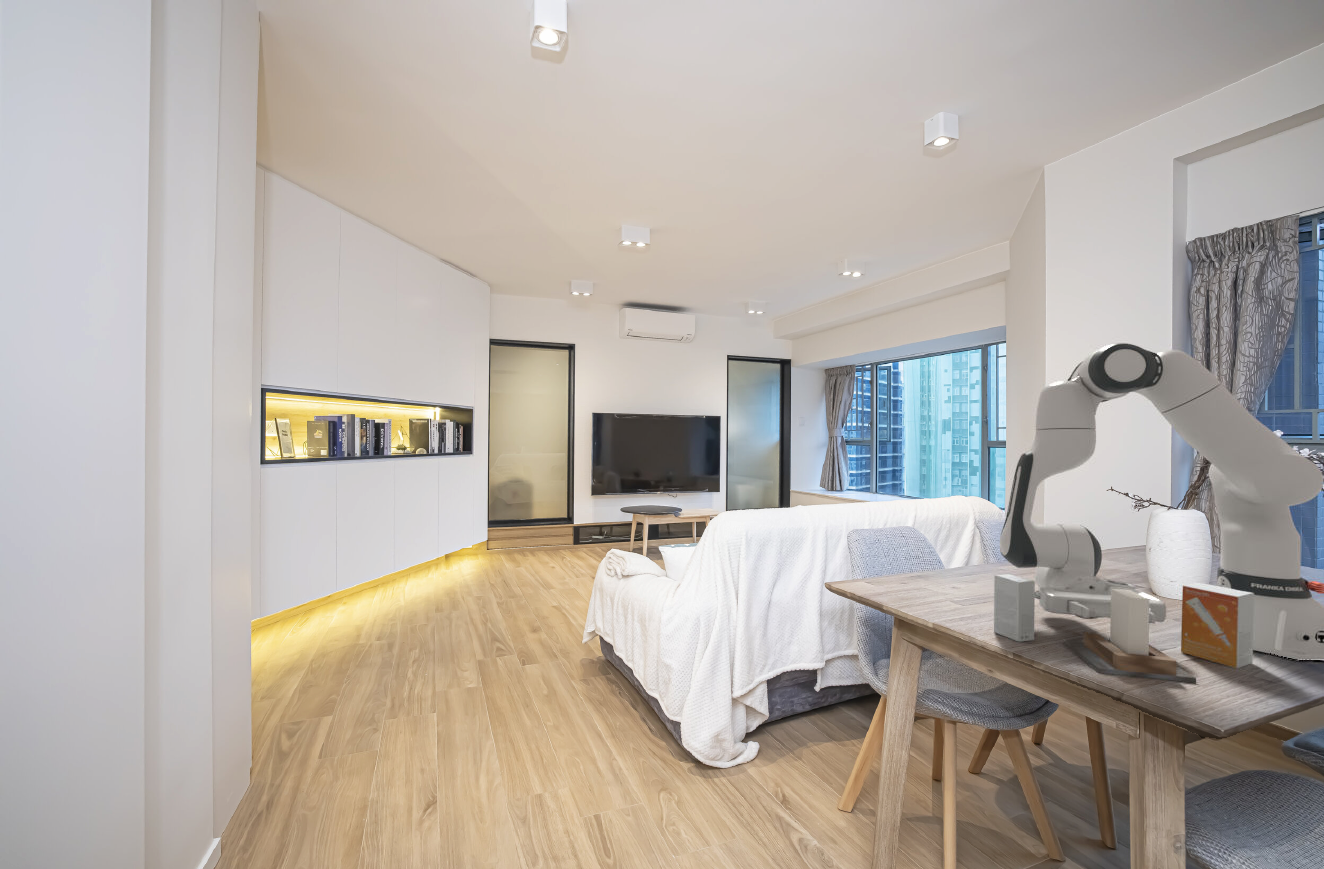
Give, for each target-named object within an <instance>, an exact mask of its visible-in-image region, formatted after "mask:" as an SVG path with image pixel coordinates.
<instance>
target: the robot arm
mask: <svg viewBox="0 0 1324 869" xmlns="http://www.w3.org/2000/svg"><path fill="white" fill-rule="evenodd" d="M1131 392H1132V393H1137V394H1140V395H1141V396H1143V397H1144V398H1146V399H1147V400H1148V401H1150V402H1151V403H1152V404H1153V405H1154V407H1155V408H1156V410H1157V411H1158V412H1159V413H1160V414H1161V415H1162V416H1163V418H1164V419H1165V420H1166V421H1167V422H1168V424H1170V426H1171V427H1172V428H1173V430H1175V432H1177V434H1178V435H1179V436H1180V437H1181V438H1182V440H1183V441H1184V442H1185V443H1186V444H1187V445H1189V446H1190V447H1191V448H1193V449H1194V450H1195V451H1196V452H1198V453H1199V454H1200V455H1202V456H1203V457H1204V458H1205V459H1206V461H1207V462H1209V463H1210V466H1209V468H1208V477H1209V480H1210V482H1211V484H1212V485H1211V486H1212V489H1213V490H1212V491H1213V496H1214V502H1215V508H1216V512H1217V517H1218V523H1219V530H1220V564H1219V565H1220V566H1219V567H1217V574H1216V586H1220V587H1225V588H1230V589H1235V590H1239V591H1245V592H1251V593H1254V618H1253V651H1257V652H1261V653H1266V654H1270V653H1271V655H1274V654H1275V655H1274V656H1277V655H1278V657H1281V656H1283V657H1282V658H1284V657H1287V658H1286V659H1288V658H1294V659H1302V660H1303V659H1305V660H1307V659H1309V660H1311V659H1324V605H1323V604H1322V603H1320V602H1319V601H1317V600H1316V599H1314V598H1313V595H1312V593H1311V592H1315V593H1318V594H1323V595H1324V583H1323V582H1318V581H1316V580H1312V581H1308V580H1307V579H1305V578H1303V577H1301V564H1302V562H1301V561H1302V560H1301V559H1302V558H1301V557H1302V556H1301V555H1302V553H1301V552H1302V550H1301V549H1302V544H1301V543H1302V537H1301V535H1300V534H1299V532H1298V530H1297V528H1296V526H1295V523H1294V521H1293V517H1292V512H1291V510H1290V507H1293V506H1298V505H1301V504H1305V503H1307V502H1310V501H1311V500H1313V499H1314V498H1315V497H1317V496H1318V495H1319V493H1320V492H1322V489H1323V487H1324V474H1323V473H1322V471H1321V469H1320V468H1319V467H1318V466H1317V464H1315V463H1314V462H1313V461H1311V460H1310V459H1308V458H1307V457H1305V456H1304V455H1302V454H1300V453H1299V452H1298V451H1297V450H1296V449H1294V448H1293V447H1292V446H1291V445H1290V444H1288V443H1287V442H1286V441H1285V440H1284V439H1282V438H1281V437H1280V436H1279V435H1277V434H1276V433H1275V432H1273V431H1272V430H1271V429H1270V428H1269V427H1267V426H1266V425H1264V424H1263V423H1262V422H1261V421H1259V420H1258V419H1257V418H1256V417H1255V416H1253V415H1252V414H1251V413H1250V412H1249V411H1248V410H1247V409H1246V408H1245V407H1244V405H1242V404H1241V403H1240V402H1239V400H1238V399H1237V398H1236V397H1235V396H1234V395H1233V394H1232V392H1230V390H1228V388H1227V387H1226V386H1225V385H1224V384H1223V383H1222V382H1221V381H1220V380H1219V379H1218V378H1217V377H1216V376H1215V375H1214V374H1213V373H1212V372H1211V371H1210V370H1209V369H1207V367H1205V366H1204V365H1203V364H1202V363H1200V362H1199V361H1198V360H1196V359H1195V358H1193V357H1192V356H1191V355H1189V354H1188V353H1187V352H1185V351H1182V350H1177V349H1169V350H1164V351H1160V352H1157V353H1156V352H1153V351H1150V350H1148V349H1144V348H1142V347H1141V346H1139V345H1135V344H1133V343H1125V342H1124V343H1123V342H1120V343H1119V342H1118V343H1113V344H1112V343H1111V344H1108V345H1105V346H1103V347H1101V348H1099V349H1098V350H1095V351H1094V352H1092V353H1090V354H1089V355H1088V356H1086V357H1085V358H1084V359H1083V361H1081V362H1080V363H1078V365H1077V366H1076V367H1075V368H1074V370H1073V371H1072V372H1071V375H1070V376H1069V378H1068V379H1067V380H1061V381H1056V382H1053V383H1050V384H1047V385H1046V386H1045V387H1044V388H1042V390H1041V392H1040V394H1039V398H1038V403H1037V406H1036V407H1037V409H1036V415H1035V416H1036V418H1035V436H1034V441H1033V442H1032V445H1031V447H1030V449H1029V450H1028V451H1026V452H1024V453H1022V454H1021V455H1020V457H1019V459H1018V461H1017V464H1016V467H1015V472H1014V477H1013V481H1012V486H1011V491H1010V496H1009V500H1008V506H1007V510H1006V516H1005V520H1004V523H1003V527H1002V529H1001V534H1000V538H999V550H1000V554H1001V555H1002V557H1003V558H1004V559H1005V560H1006V561H1007V562H1008V563H1009V564H1011V565H1012V566H1014V567H1016V568H1017V569H1025V568H1026V569H1030V568H1032V569H1033V568H1036V569H1035V572H1034V581H1035V584H1036V586H1037V587H1038V589H1039V590H1035V599H1037V600H1038V603H1039V605H1040V607H1041V608H1042V609H1043V610H1044V611H1045V612H1047V613H1051V614H1059V615H1069V616H1070V615H1072V616H1074V617H1075V616H1076V617H1078V618H1079V619H1083V620H1084V619H1085V620H1094V619H1095V620H1096V619H1099V618H1101V619H1103V618H1108V619H1111V589H1123V590H1131V591H1133V592H1135V593H1137V594H1140V595H1142V596H1144V597H1146V598H1148V599H1149V624H1155V623H1156V622H1158V623H1163V622H1165V621H1166V619H1167V605H1166V603H1165V602H1164V601H1163V600H1161V599H1159V598H1158V597H1155V596H1153V595H1152V594H1149V593H1147V592H1144V591H1143V590H1138V589H1136V586H1135V585H1133V584H1131V583H1126V582H1122V581H1116V580H1115V581H1114V580H1108V579H1103V578H1101V577H1098V576H1097V575H1098V573H1099V571H1100V569H1101V567H1102V566H1101V565H1102V558H1103V556H1102V547H1101V544H1100V542H1099V541H1098V539H1097V537H1096V536H1095V535H1094V534H1093V533H1092V532H1091V531H1090V530H1089V528H1087V527H1085V526H1083V525H1075V524H1074V525H1073V524H1060V523H1059V524H1048V523H1047V524H1046V523H1033V522H1031V520H1032V514H1033V508H1034V505H1035V504H1034V503H1035V498H1036V493H1037V489H1038V487H1039V485H1040V484H1041V483H1042V482H1043V481H1045V480H1046V479H1048V478H1050V477H1053V476H1055V475H1056V476H1057V475H1059V474H1062V473H1065V472H1068V471H1071V470H1074V469H1076V468H1078V467H1080V466H1082V465H1084V464H1085V463H1086V462H1088V461H1089V459H1091V458H1092V457H1093V455H1094V453H1095V450H1096V445H1097V427H1096V425H1097V424H1096V414H1097V410H1098V407H1099V405H1100V403H1105V402H1108V401H1111V400H1115V399H1119V398H1121V397H1124V396H1127V395H1128V394H1130V393H1131Z"/></svg>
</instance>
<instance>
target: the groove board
mask: <svg viewBox="0 0 1324 869" xmlns="http://www.w3.org/2000/svg"><path fill="white" fill-rule="evenodd" d="M1062 645H1063V646H1064V647H1066V648H1067V649H1069V650H1070V651H1071V652H1072V653H1074V654H1075V655H1076V656H1077V657H1079V659H1081V660H1082V661H1084V662H1085V663H1086V664H1087V665H1089V666H1090V667H1091V668H1092V669H1094V670H1095V672H1097V673H1098V674H1099V673H1100V674H1105V675H1107V674H1108V675H1115V676H1116V675H1118V676H1126V677H1127V676H1128V677H1134V678H1135V677H1137V678H1138V677H1139V678H1147V679H1154V680H1155V679H1157V680H1165V681H1177V682H1185V683H1186V682H1187V683H1193V684H1194V683H1197V677H1195V676H1194V675H1193V674H1191V673H1189V672H1187V671H1186V670H1184V669H1182V668H1181V667H1179V666H1178V665H1177V662H1178V661H1177V660H1176V659H1174V658H1172V657H1170V656H1169V655H1167V654H1166V653H1164V652H1163V651H1160V650H1159V649H1157V648H1156V647H1155V646H1152V645H1151V644H1149V655H1148V656H1147V655H1137V654H1126V653H1125V652H1123V651H1122V650H1120V649H1119V648H1117V647H1116V646H1114V645H1113V644H1111V643H1110V641H1109V640H1107V639H1106V638H1104V637H1103V636H1102V635H1100V634H1098V633H1097V632H1089V631H1084V632H1083V641H1081V640H1070V639H1069V640H1068V639H1062Z"/></svg>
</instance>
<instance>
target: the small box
mask: <svg viewBox="0 0 1324 869" xmlns="http://www.w3.org/2000/svg"><path fill="white" fill-rule="evenodd" d="M1181 594H1182V600H1181V603H1182V604H1181V631H1180V633H1181V637H1180V638H1181V640H1180V652H1181V653H1182V654H1186V655H1190V656H1192V657H1197V658H1199V659H1203V660H1207V661H1211V662H1213V663H1216V664H1220V665H1223V666H1226V667H1230V668H1233V669H1236V670H1237V669H1240V668H1242V667H1245V666H1248V665H1251V664H1253V659H1254V657H1253V656H1254V650H1253V618H1254V593H1251V592H1245V591H1239V590H1235V589H1230V588H1225V587H1220V586H1217V585H1213V584H1207V583H1201V582H1194V583H1189V584H1185V585H1182V593H1181Z"/></svg>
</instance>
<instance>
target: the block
mask: <svg viewBox="0 0 1324 869" xmlns="http://www.w3.org/2000/svg"><path fill="white" fill-rule="evenodd" d="M1109 626H1110V633H1109V634H1110V635H1109V636H1110V637H1109V640H1110V641H1109V642H1110V643H1111V644H1113V645H1114V646H1116V647H1117V648H1119V649H1120V650H1122V651H1123V652H1125V653H1126V654H1137V655H1147V656H1148V655H1149V645H1150V644H1149V642H1150V639H1149V637H1150V623H1149V599H1148V598H1146V597H1144V596H1142V595H1140V594H1137V593H1135V592H1133V591H1131V590H1123V589H1111V618H1110V625H1109Z"/></svg>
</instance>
